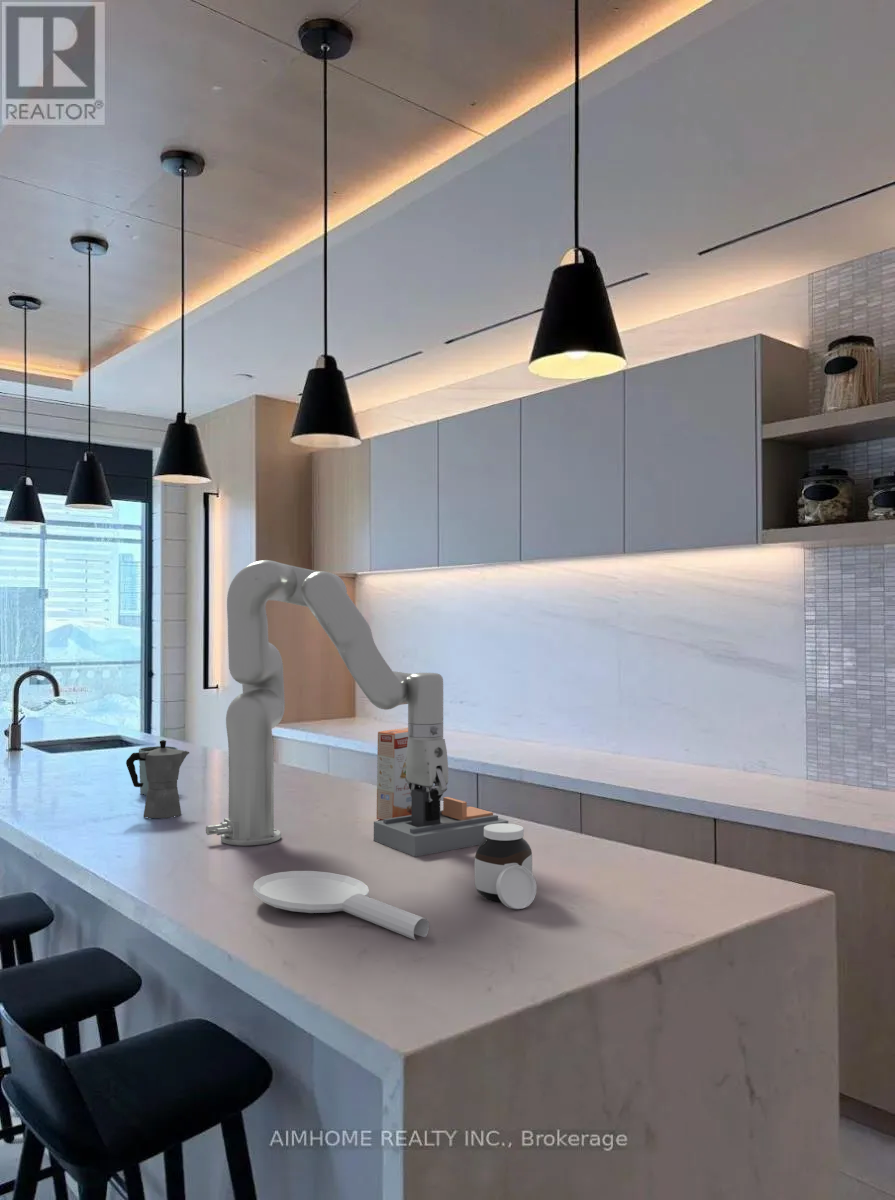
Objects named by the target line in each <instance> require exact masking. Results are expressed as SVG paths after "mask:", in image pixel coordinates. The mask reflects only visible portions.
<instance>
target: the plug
mask: <svg viewBox="0 0 895 1200" xmlns="http://www.w3.org/2000/svg"><path fill="white" fill-rule="evenodd" d="M434 790H435V789H431V791H432V793H433V791H434ZM427 801H428V800H427V793H426V787H424V786H422V788H421V789H413V790H412V826H415V827H423V826H429V825H435V824H440V811H441V800H440V801H439V819H438V820H433V821H426V819H425V802H427Z"/></svg>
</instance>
